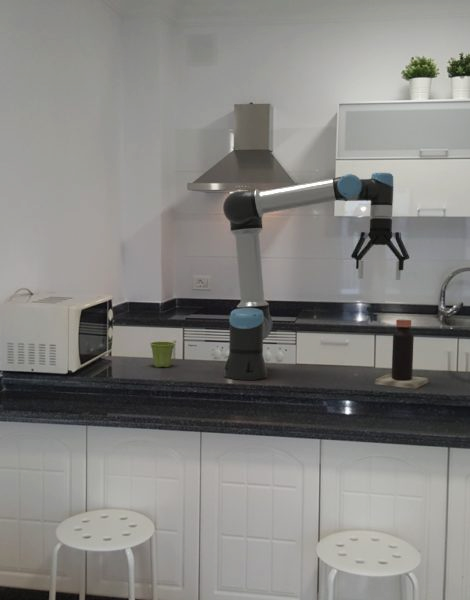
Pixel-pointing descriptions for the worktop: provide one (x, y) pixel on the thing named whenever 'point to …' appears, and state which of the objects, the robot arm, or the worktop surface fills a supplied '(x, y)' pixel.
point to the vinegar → (402, 351)
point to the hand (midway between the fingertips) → (379, 279)
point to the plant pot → (162, 353)
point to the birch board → (401, 382)
